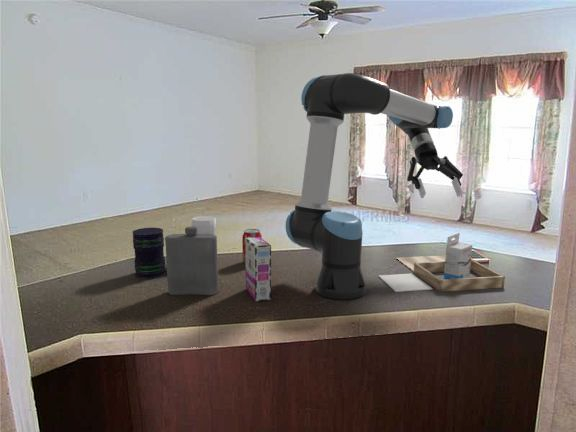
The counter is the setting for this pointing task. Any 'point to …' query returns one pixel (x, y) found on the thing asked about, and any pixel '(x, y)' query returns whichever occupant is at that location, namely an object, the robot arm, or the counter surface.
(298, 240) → the robot arm
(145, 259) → the storage jar
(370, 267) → the counter surface
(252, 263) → the candy bar box
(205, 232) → the cup
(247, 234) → the soda can
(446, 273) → the ink box
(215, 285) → the flask
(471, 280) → the mailer box
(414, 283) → the mat
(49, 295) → the counter surface
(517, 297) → the counter surface
